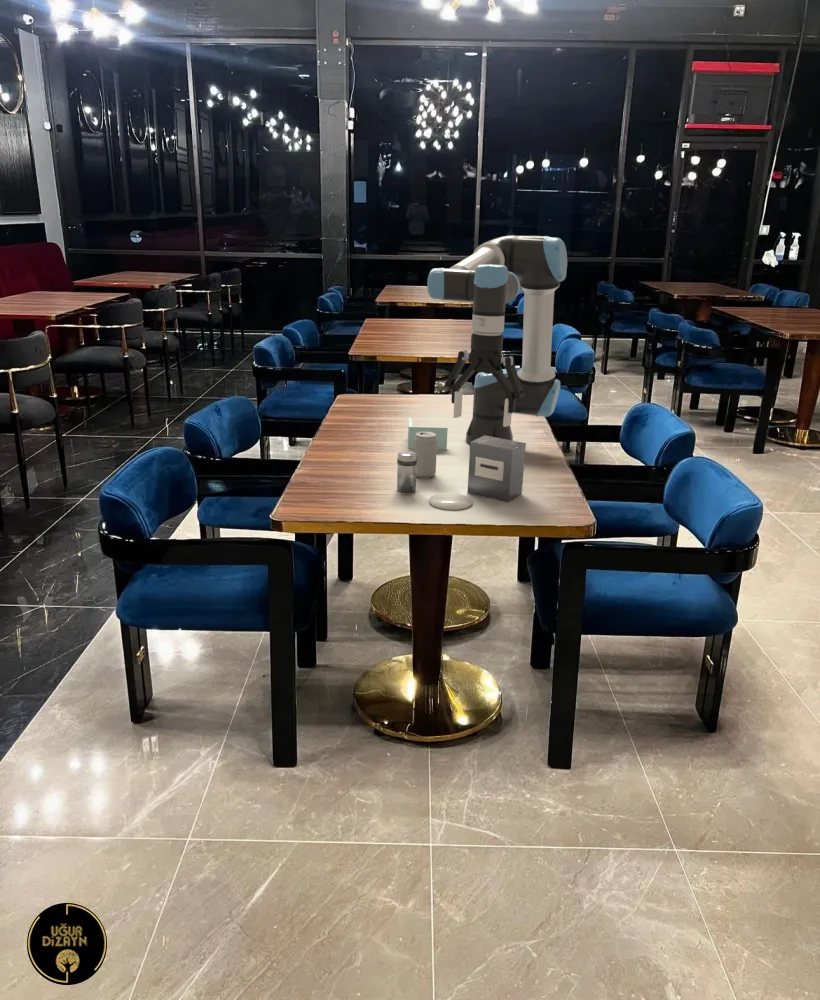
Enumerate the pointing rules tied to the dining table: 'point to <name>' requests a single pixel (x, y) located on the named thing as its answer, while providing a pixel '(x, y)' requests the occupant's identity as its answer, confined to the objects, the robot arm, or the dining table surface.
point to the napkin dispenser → (496, 468)
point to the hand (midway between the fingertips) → (481, 421)
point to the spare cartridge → (406, 472)
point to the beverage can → (425, 453)
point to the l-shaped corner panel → (439, 431)
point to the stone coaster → (450, 501)
